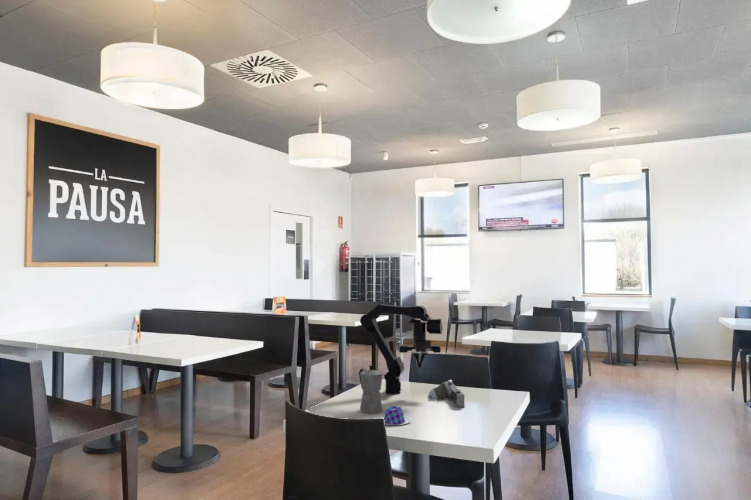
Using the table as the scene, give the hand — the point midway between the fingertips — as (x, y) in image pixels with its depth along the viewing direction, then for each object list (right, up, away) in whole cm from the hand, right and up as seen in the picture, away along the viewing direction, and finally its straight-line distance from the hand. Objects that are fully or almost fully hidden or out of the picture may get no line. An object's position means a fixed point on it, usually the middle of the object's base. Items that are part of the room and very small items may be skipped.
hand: (419, 367), depth 229 cm
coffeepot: (-22, -11, -28) cm, 37 cm away
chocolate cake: (+7, -12, -5) cm, 15 cm away
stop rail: (+14, -11, -10) cm, 21 cm away
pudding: (-13, -10, -43) cm, 46 cm away
